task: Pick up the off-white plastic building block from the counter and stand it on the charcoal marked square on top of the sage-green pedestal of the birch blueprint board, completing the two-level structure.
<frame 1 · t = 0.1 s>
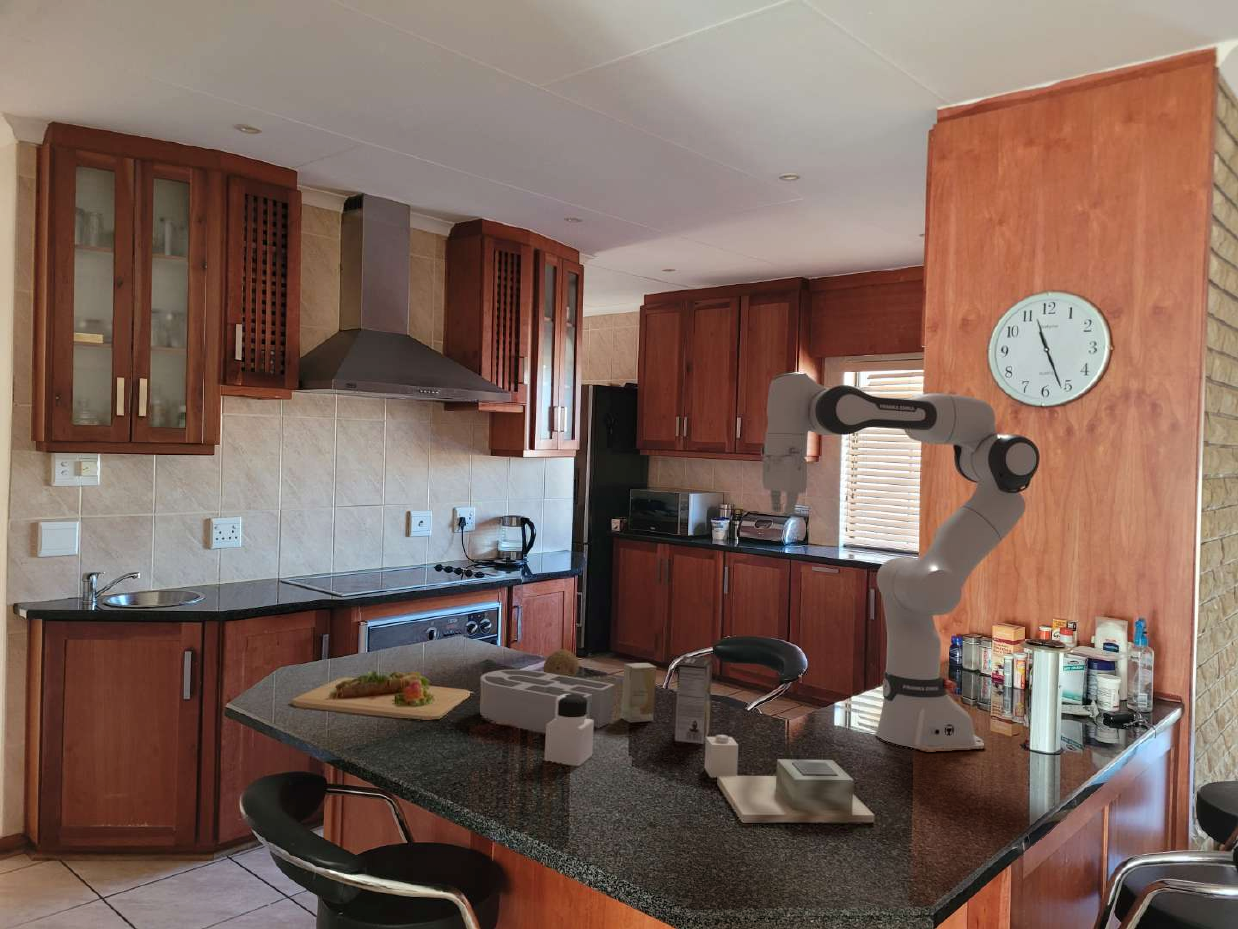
hand: (782, 513, 193), 48 cm above the table, tool pointing down, fingers open, 8 cm apart
medicine bottle: (568, 759, 172), on the table
food carton: (692, 737, 191), on the table
display stand: (791, 803, 155), on the table
grey compartment organizer: (538, 722, 197), on the table
natural sponge: (559, 690, 224), on the table
cutting board: (385, 704, 207), on the table
skincare box: (637, 720, 201), on the table
building block: (720, 773, 169), on the table
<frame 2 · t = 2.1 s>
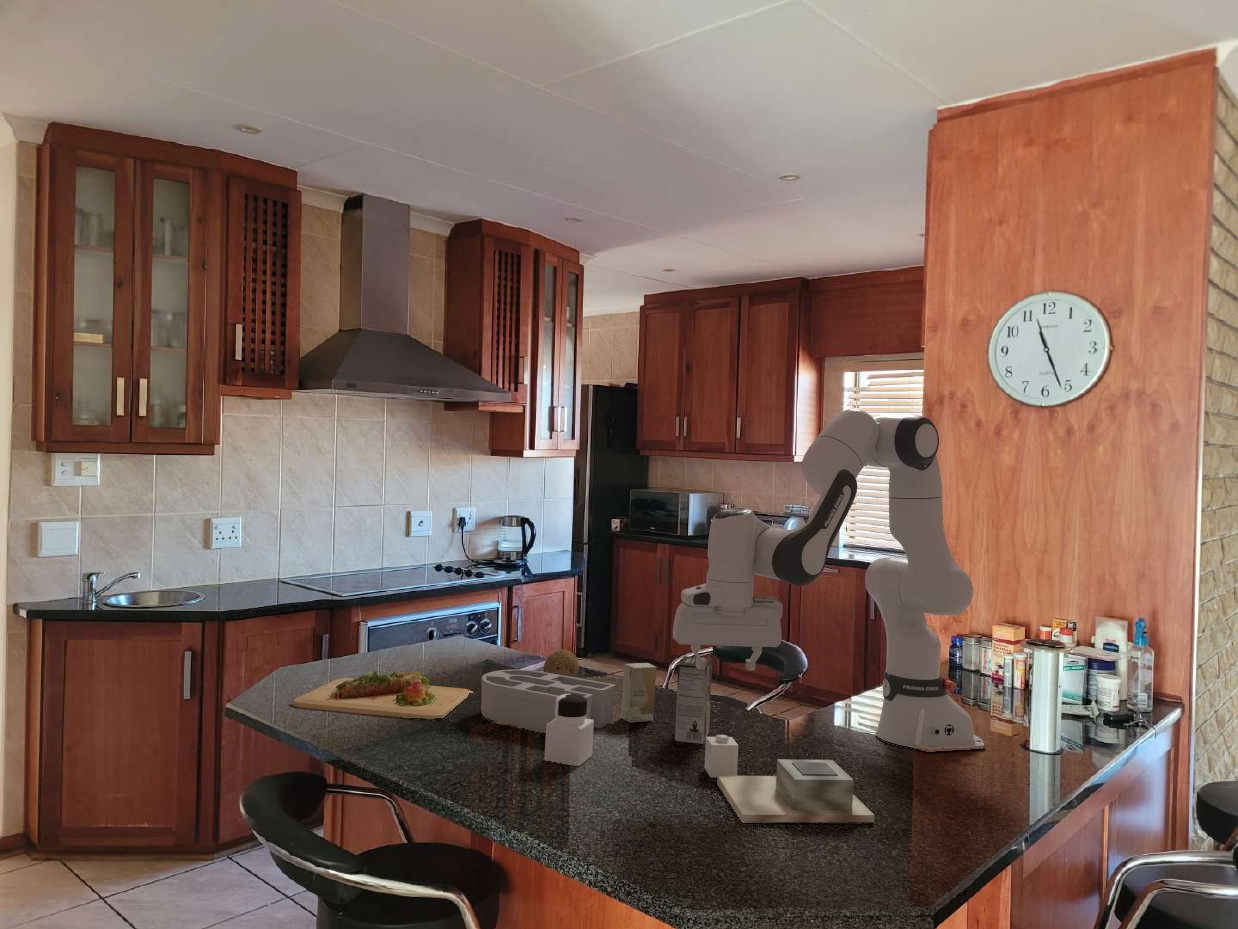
hand: (725, 669, 169), 19 cm above the table, tool pointing down, fingers open, 8 cm apart
nothing on the table moved.
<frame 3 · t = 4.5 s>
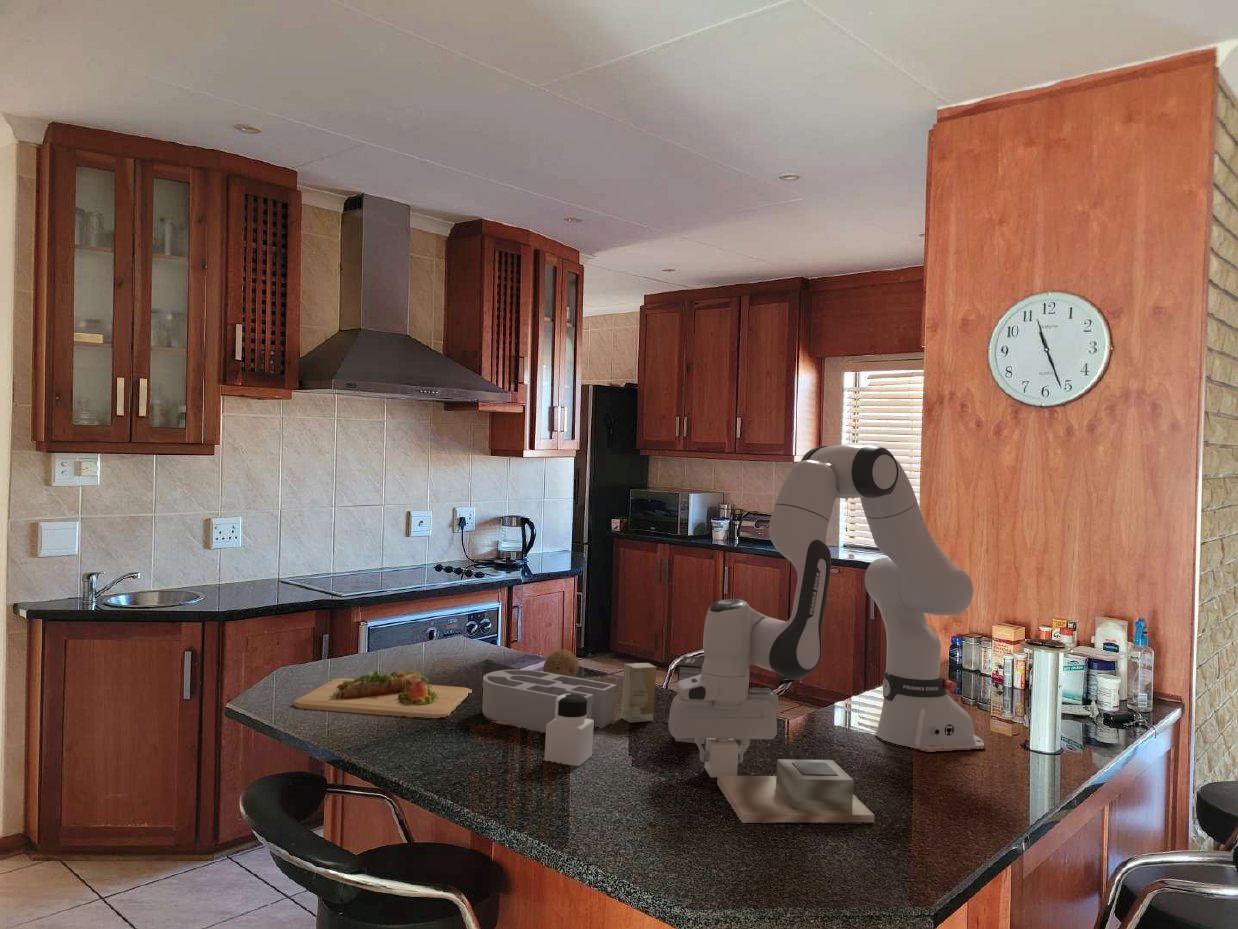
hand: (721, 761, 169), 2 cm above the table, tool pointing down, fingers closed on building block, 5 cm apart
building block: (720, 772, 169), on the table, touching gripper
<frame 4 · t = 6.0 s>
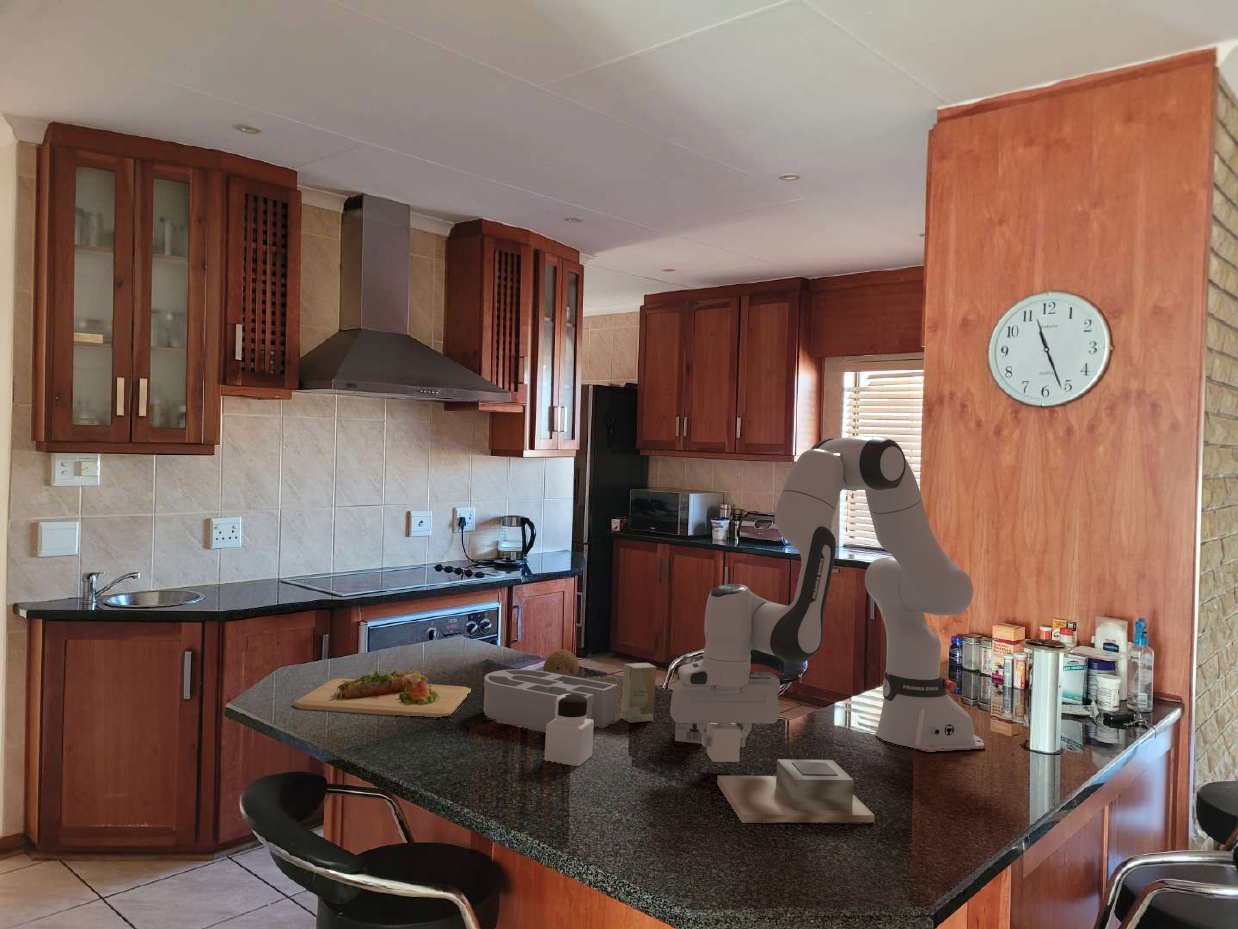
hand: (723, 745, 169), 5 cm above the table, tool pointing down, fingers closed on building block, 5 cm apart
building block: (722, 757, 169), point 3 cm above the table, touching gripper
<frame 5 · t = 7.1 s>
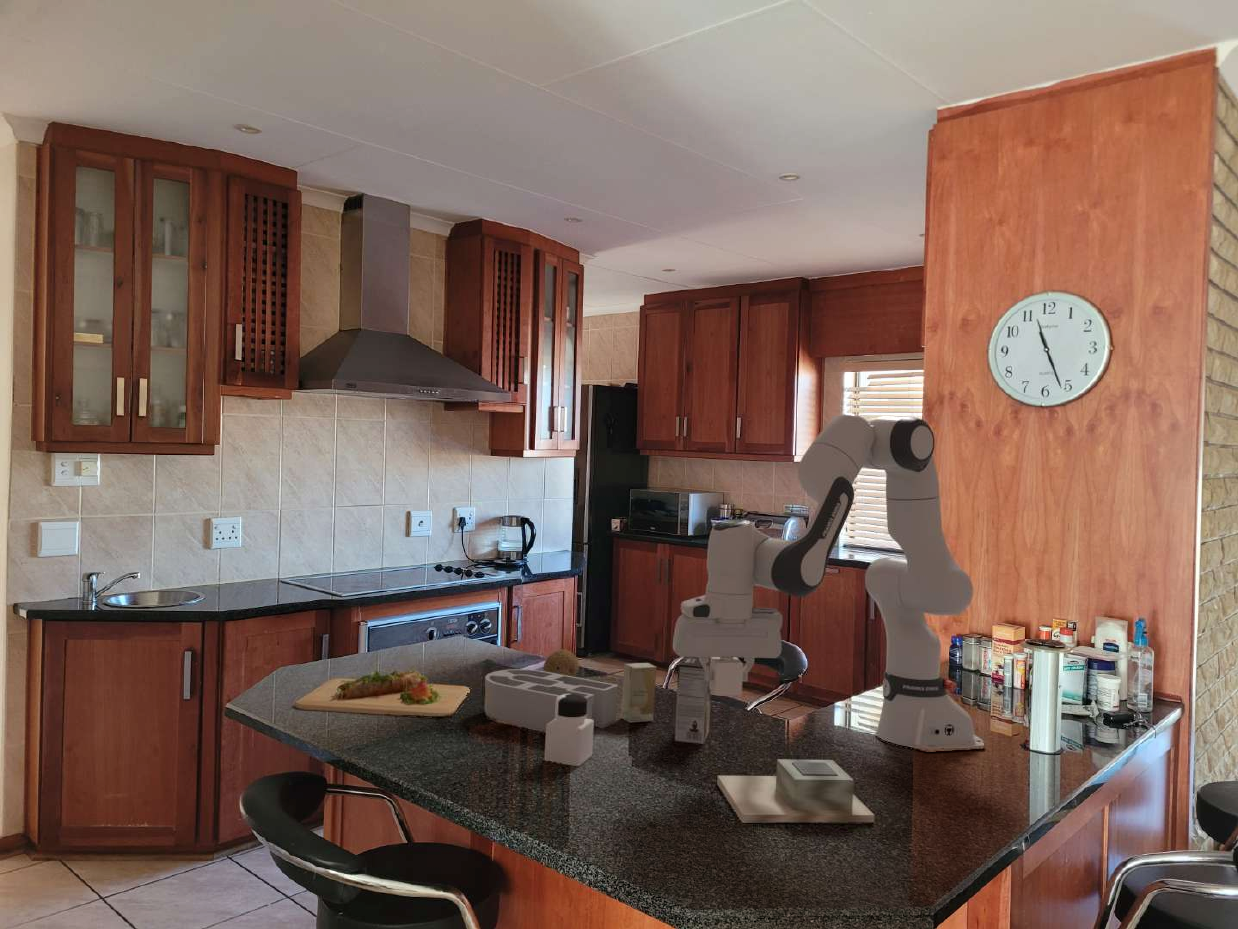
hand: (725, 680, 169), 17 cm above the table, tool pointing down, fingers closed on building block, 5 cm apart
building block: (725, 692, 169), point 15 cm above the table, touching gripper
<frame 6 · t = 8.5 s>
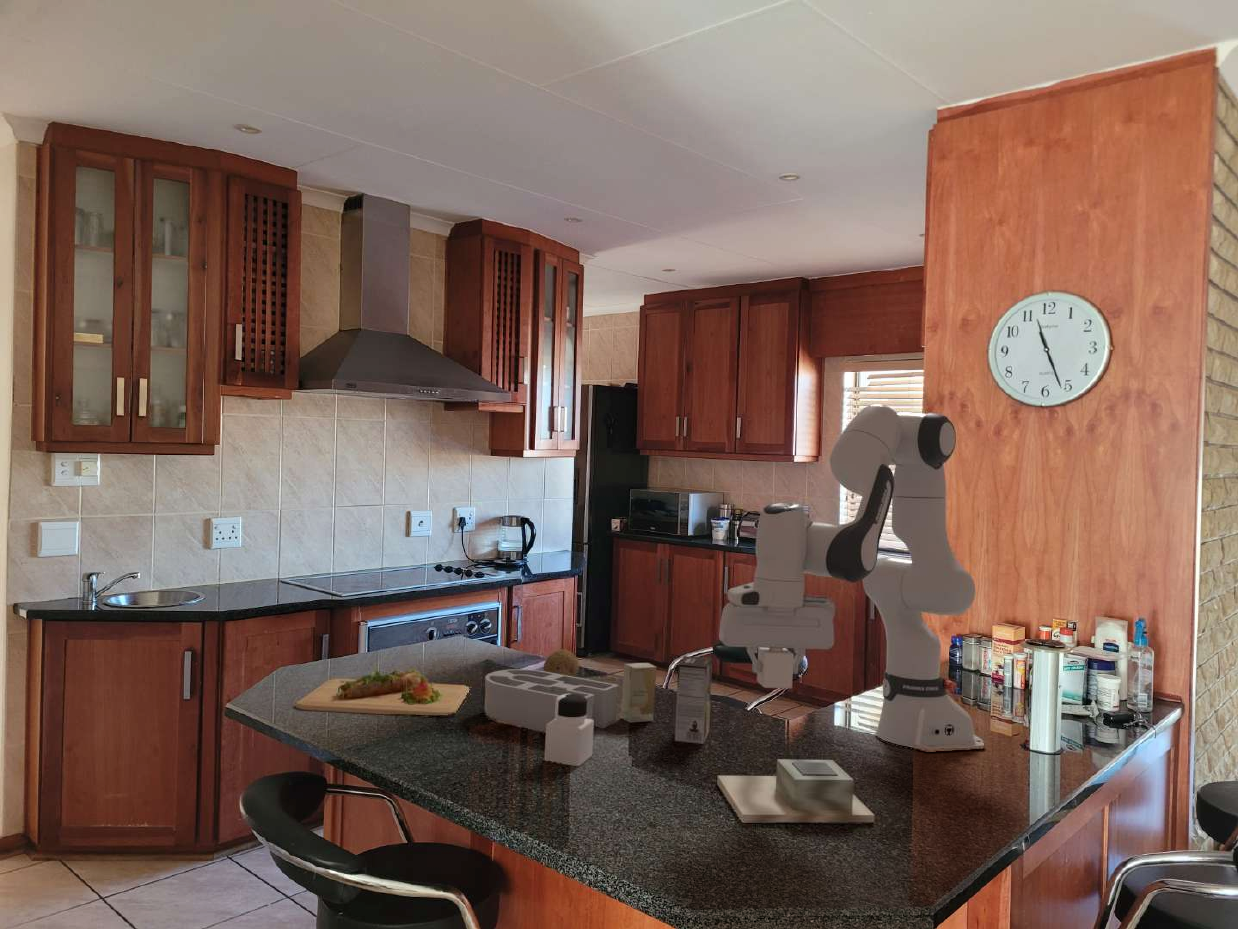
hand: (774, 672, 160), 21 cm above the table, tool pointing down, fingers closed on building block, 5 cm apart
building block: (774, 684, 160), point 19 cm above the table, touching gripper
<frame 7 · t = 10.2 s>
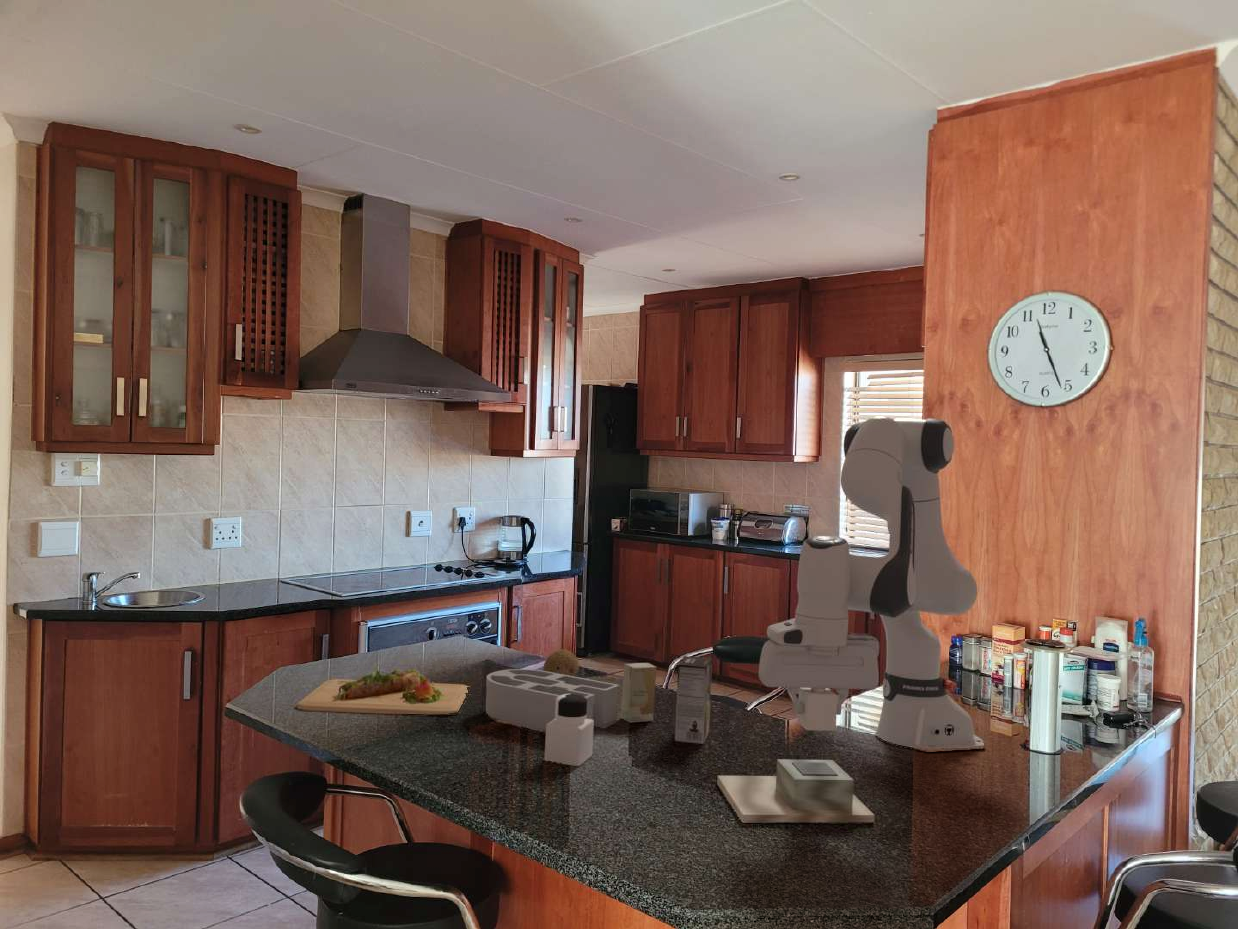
hand: (816, 713, 153), 16 cm above the table, tool pointing down, fingers closed on building block, 5 cm apart
building block: (816, 726, 153), point 14 cm above the table, touching gripper
when the fingers open (10 cm above the table, at t = 12.0 s): building block drops 1 cm, resting on display stand.
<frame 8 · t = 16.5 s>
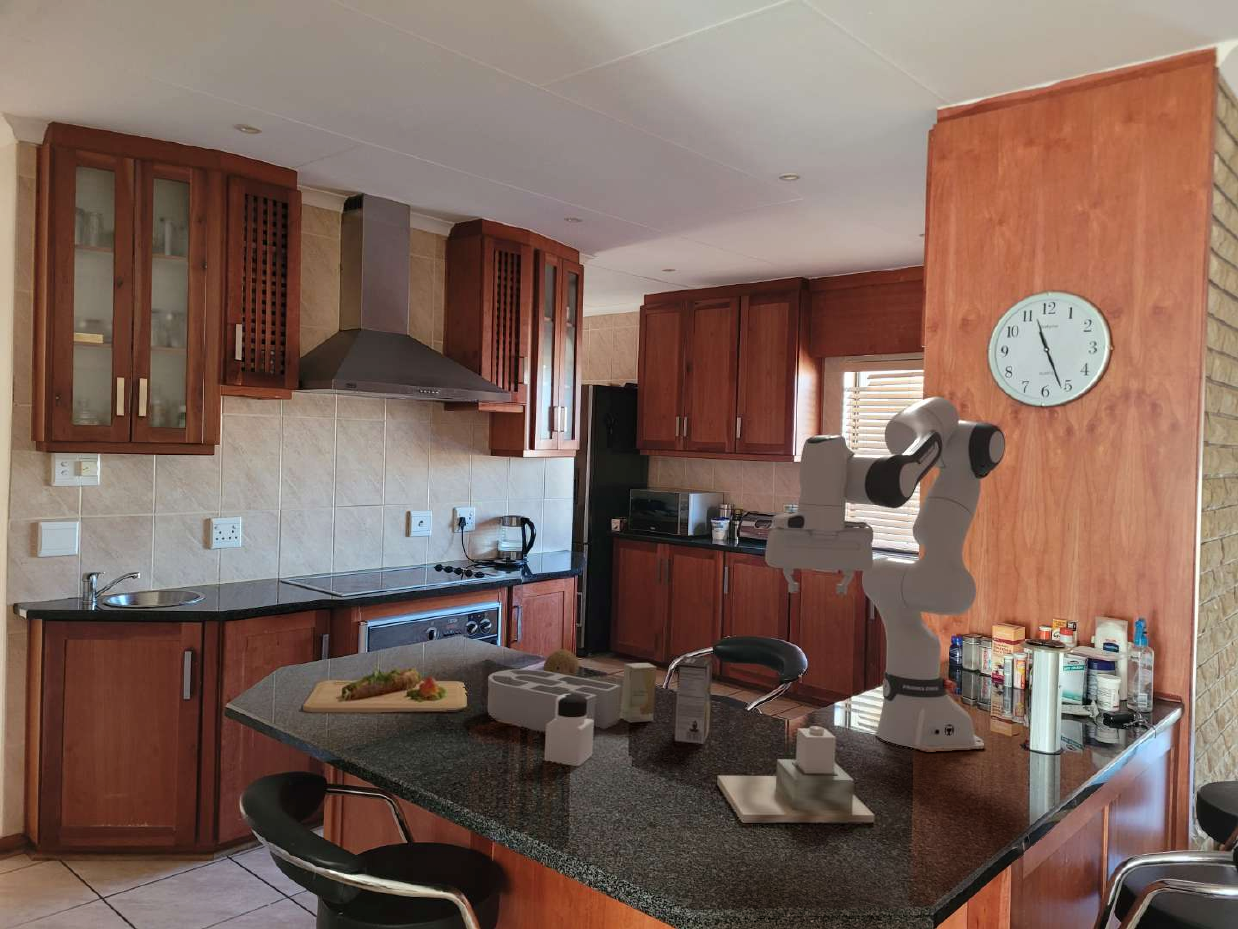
hand: (817, 593, 171), 34 cm above the table, tool pointing down, fingers open, 8 cm apart
building block: (814, 768, 153), point 7 cm above the table, touching display stand
at the end: building block 0.0 cm from the target spot on the display stand, point 6.7 cm above the display stand's base; building block tilted 0°; the gripper is holding nothing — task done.
